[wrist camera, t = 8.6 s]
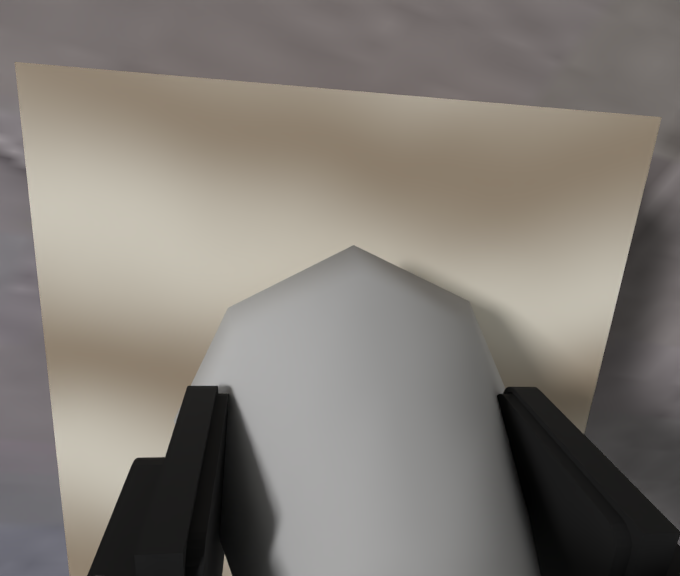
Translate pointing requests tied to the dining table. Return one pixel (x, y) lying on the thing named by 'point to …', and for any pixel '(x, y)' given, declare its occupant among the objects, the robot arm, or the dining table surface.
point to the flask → (364, 431)
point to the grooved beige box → (300, 236)
